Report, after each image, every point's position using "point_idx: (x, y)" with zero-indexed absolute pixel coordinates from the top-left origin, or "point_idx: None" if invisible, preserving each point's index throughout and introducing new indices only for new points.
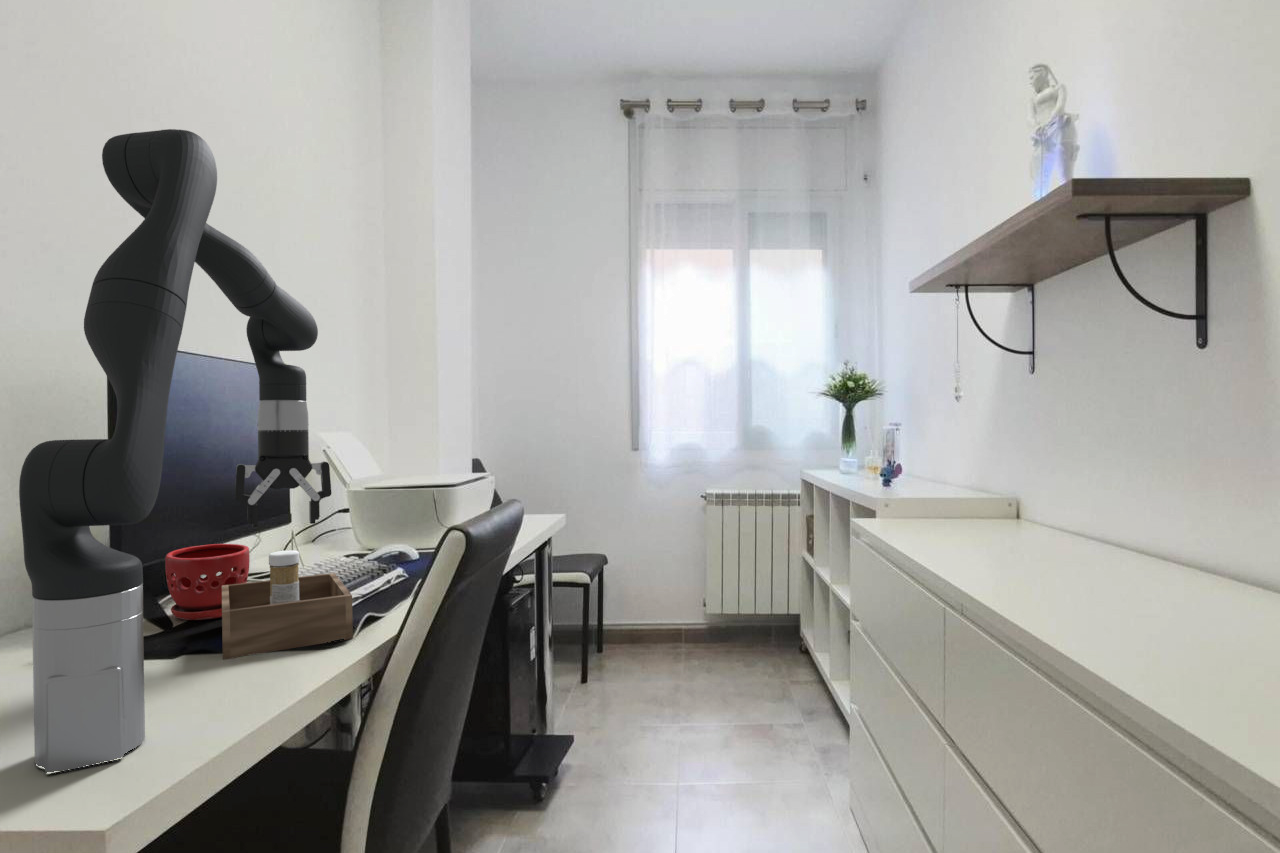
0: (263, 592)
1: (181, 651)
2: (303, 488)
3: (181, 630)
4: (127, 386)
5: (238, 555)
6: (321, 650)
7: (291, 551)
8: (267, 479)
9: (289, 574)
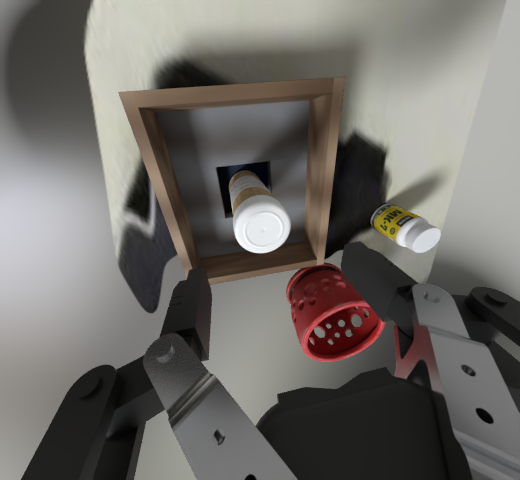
0: (275, 258)
1: (344, 158)
2: (225, 392)
3: (336, 238)
4: None
5: (314, 318)
6: (188, 55)
7: (249, 234)
8: (510, 436)
9: (247, 193)
